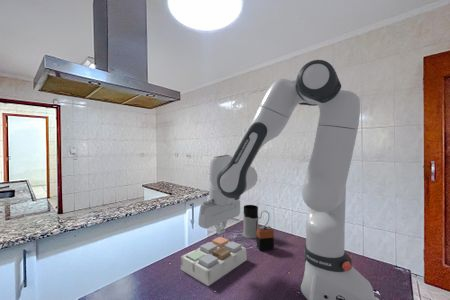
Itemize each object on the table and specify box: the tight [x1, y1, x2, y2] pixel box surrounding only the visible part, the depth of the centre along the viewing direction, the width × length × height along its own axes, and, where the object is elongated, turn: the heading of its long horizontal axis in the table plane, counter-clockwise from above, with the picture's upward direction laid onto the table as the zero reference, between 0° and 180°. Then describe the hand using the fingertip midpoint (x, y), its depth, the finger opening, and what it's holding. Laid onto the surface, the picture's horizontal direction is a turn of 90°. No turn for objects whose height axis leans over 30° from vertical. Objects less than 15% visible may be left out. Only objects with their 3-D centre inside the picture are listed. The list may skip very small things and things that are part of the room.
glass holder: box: [242, 204, 270, 239], centre depth 113 cm, size 9×14×15 cm, turn 67°
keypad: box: [180, 240, 248, 287], centre depth 86 cm, size 15×22×6 cm
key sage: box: [186, 251, 205, 262], centre depth 83 cm, size 5×5×3 cm
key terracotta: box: [211, 236, 229, 248], centre depth 93 cm, size 5×5×3 cm
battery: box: [256, 225, 275, 252], centre depth 99 cm, size 4×7×10 cm, turn 101°
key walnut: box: [212, 247, 230, 261], centre depth 83 cm, size 5×5×3 cm
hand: (220, 232), depth 83 cm, fingers closed
